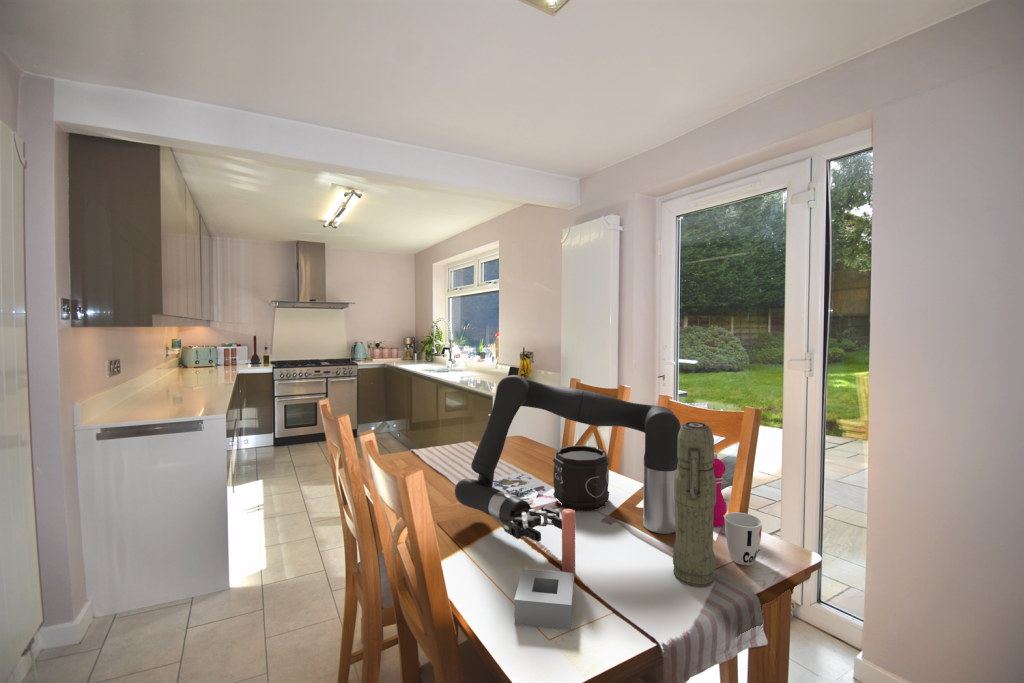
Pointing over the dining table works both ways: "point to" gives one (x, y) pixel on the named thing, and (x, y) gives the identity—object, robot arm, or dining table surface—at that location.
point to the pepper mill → (719, 494)
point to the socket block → (545, 599)
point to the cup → (743, 537)
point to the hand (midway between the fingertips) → (553, 531)
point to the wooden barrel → (581, 477)
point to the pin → (568, 541)
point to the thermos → (694, 506)
